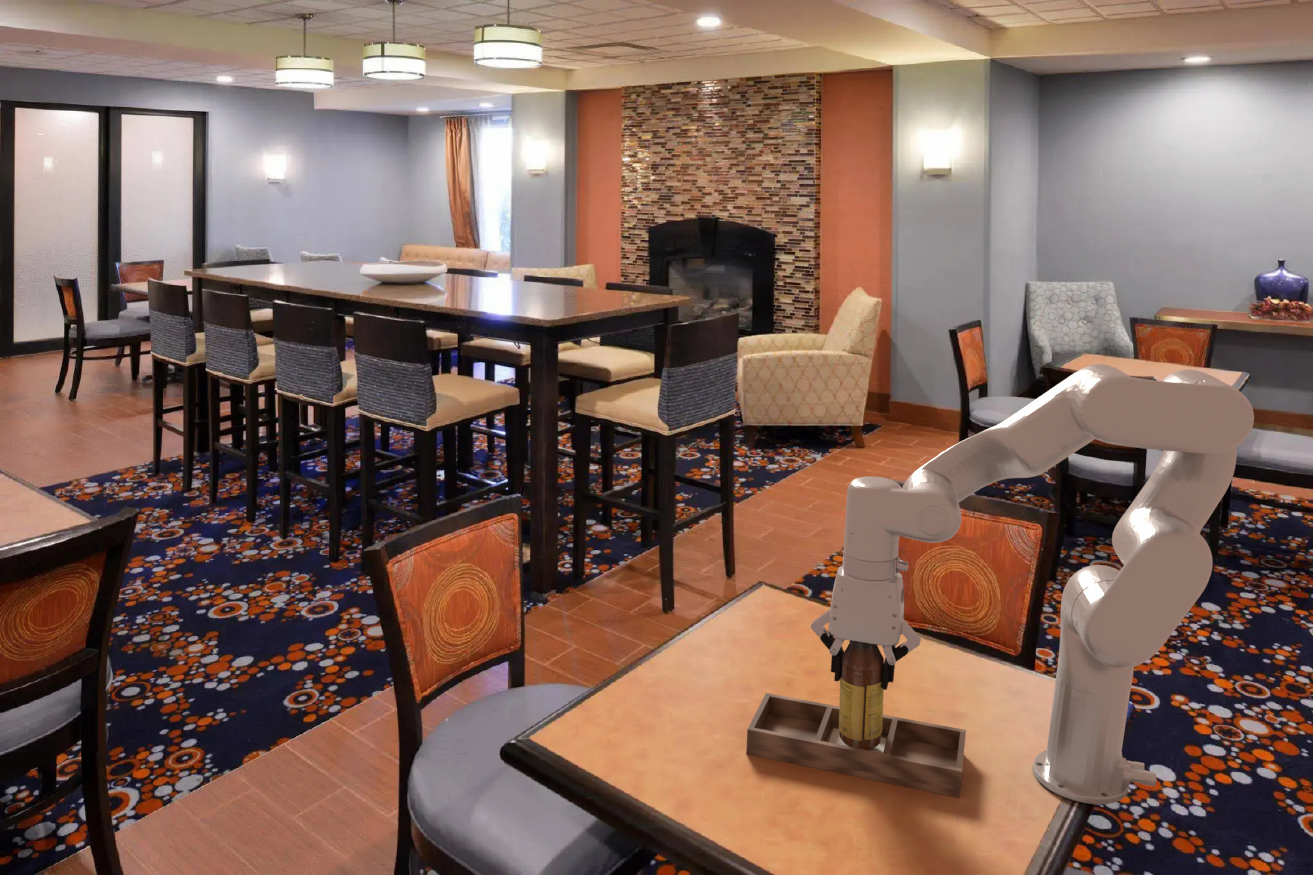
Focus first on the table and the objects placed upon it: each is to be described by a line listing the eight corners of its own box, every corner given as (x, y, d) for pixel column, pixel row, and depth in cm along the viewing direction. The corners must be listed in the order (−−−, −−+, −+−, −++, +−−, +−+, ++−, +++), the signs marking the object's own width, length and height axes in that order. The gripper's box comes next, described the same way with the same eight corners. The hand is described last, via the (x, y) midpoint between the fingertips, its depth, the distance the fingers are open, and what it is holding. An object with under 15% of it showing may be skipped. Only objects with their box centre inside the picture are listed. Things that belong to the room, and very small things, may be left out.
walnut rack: (963, 754, 147) (966, 729, 146) (959, 797, 136) (961, 771, 135) (764, 715, 156) (765, 692, 155) (746, 753, 146) (747, 729, 145)
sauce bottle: (878, 730, 148) (888, 607, 143) (883, 753, 142) (893, 625, 137) (834, 727, 149) (842, 605, 144) (837, 750, 143) (846, 623, 138)
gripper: (935, 564, 140) (925, 680, 144) (813, 548, 145) (807, 660, 149) (930, 583, 133) (920, 704, 137) (803, 565, 138) (797, 682, 143)
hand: (861, 680), depth 143 cm, fingers closed on sauce bottle, 6 cm apart
